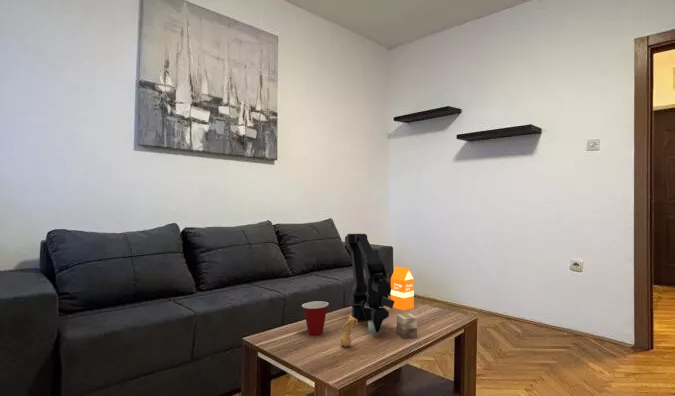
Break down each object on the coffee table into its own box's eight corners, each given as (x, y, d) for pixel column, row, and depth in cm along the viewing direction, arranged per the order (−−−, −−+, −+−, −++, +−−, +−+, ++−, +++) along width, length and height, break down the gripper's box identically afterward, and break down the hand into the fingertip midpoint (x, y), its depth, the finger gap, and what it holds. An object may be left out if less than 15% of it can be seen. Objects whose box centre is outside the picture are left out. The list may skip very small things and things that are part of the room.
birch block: (403, 329, 149) (403, 319, 149) (396, 324, 155) (396, 314, 155) (417, 328, 151) (417, 317, 151) (410, 323, 156) (410, 313, 156)
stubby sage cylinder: (370, 333, 155) (370, 323, 155) (366, 329, 159) (366, 320, 159) (380, 332, 156) (380, 322, 156) (376, 328, 161) (377, 319, 161)
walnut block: (402, 339, 149) (402, 329, 149) (396, 334, 155) (396, 324, 155) (416, 338, 151) (417, 328, 151) (410, 333, 156) (410, 323, 156)
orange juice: (403, 310, 187) (404, 269, 187) (390, 306, 194) (390, 267, 194) (414, 307, 192) (414, 267, 192) (400, 303, 199) (400, 265, 199)
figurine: (349, 341, 146) (350, 310, 146) (361, 346, 141) (361, 313, 141) (334, 347, 140) (334, 314, 140) (345, 352, 135) (346, 318, 135)
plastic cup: (311, 326, 162) (311, 298, 162) (333, 331, 157) (333, 302, 157) (296, 334, 153) (296, 304, 153) (318, 339, 147) (318, 308, 147)
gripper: (401, 295, 151) (401, 334, 151) (384, 284, 169) (383, 320, 169) (374, 296, 148) (374, 337, 148) (359, 285, 166) (359, 321, 166)
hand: (373, 328), depth 158 cm, fingers open, 9 cm apart
